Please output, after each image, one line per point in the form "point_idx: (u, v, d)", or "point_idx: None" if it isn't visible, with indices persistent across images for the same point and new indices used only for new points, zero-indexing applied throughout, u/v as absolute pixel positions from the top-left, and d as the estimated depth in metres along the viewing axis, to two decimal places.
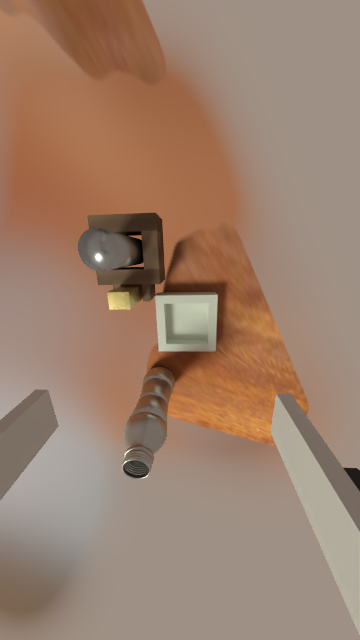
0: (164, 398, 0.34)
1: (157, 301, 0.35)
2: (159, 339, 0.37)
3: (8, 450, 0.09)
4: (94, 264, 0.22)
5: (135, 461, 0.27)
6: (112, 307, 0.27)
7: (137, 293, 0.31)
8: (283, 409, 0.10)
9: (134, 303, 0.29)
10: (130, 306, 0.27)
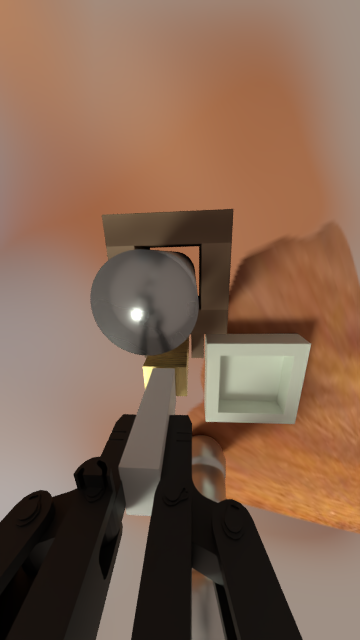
0: None
1: (210, 352, 0.22)
2: (208, 406, 0.24)
3: None
4: (131, 340, 0.08)
5: None
6: None
7: None
8: (161, 378, 0.12)
9: (187, 375, 0.16)
10: (186, 390, 0.14)
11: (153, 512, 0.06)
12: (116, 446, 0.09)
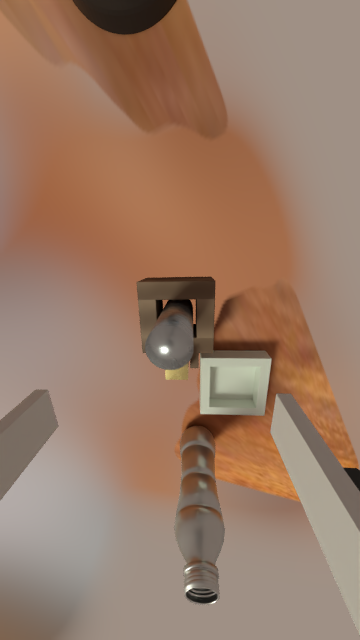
0: (212, 475, 0.30)
1: (203, 364, 0.32)
2: (202, 402, 0.34)
3: (8, 450, 0.09)
4: (162, 362, 0.18)
5: None
6: (169, 377, 0.26)
7: None
8: (283, 409, 0.10)
9: None
10: (187, 376, 0.26)
11: None
12: None
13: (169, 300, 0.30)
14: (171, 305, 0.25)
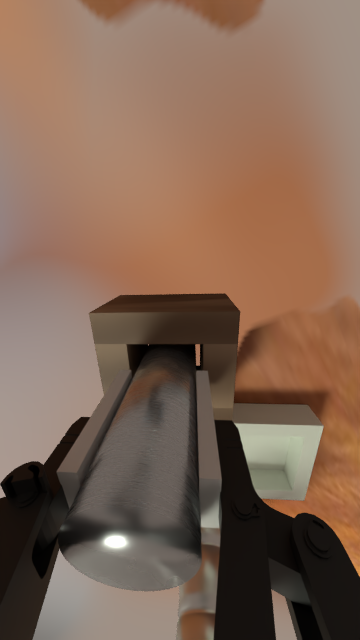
0: None
1: None
2: None
3: None
4: (114, 577, 0.06)
5: None
6: None
7: None
8: (196, 381, 0.12)
9: None
10: None
11: (223, 521, 0.06)
12: (65, 450, 0.09)
13: None
14: (155, 358, 0.13)
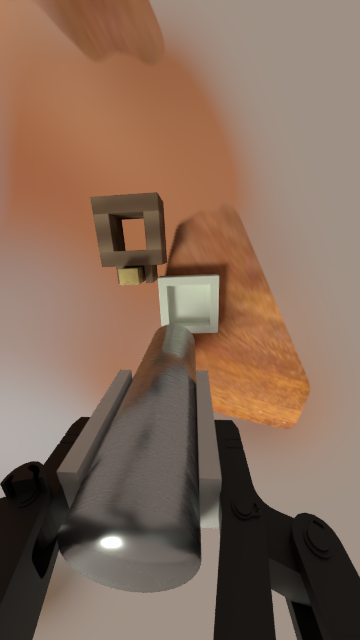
0: None
1: (160, 283, 0.36)
2: (162, 322, 0.38)
3: None
4: (113, 578, 0.06)
5: None
6: (122, 283, 0.30)
7: (144, 272, 0.34)
8: (196, 381, 0.12)
9: (142, 280, 0.32)
10: (139, 282, 0.31)
11: (223, 521, 0.06)
12: (65, 450, 0.09)
13: (156, 335, 0.18)
14: (155, 359, 0.13)
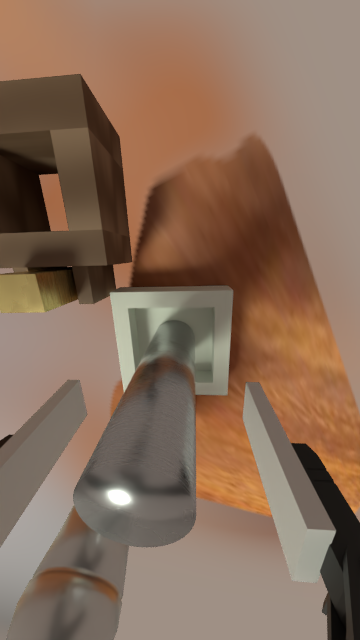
0: None
1: (115, 303, 0.18)
2: (123, 373, 0.20)
3: (51, 433, 0.10)
4: (120, 534, 0.07)
5: None
6: (6, 308, 0.13)
7: None
8: (250, 395, 0.11)
9: (64, 300, 0.14)
10: (45, 306, 0.13)
11: (352, 581, 0.05)
12: None
13: (158, 331, 0.19)
14: (157, 351, 0.14)
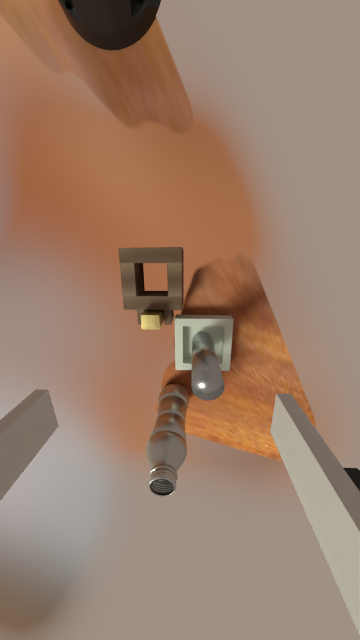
0: (182, 416, 0.36)
1: (176, 323, 0.37)
2: (176, 358, 0.40)
3: (8, 450, 0.09)
4: (202, 395, 0.27)
5: (159, 479, 0.28)
6: (144, 327, 0.32)
7: (163, 314, 0.36)
8: (283, 409, 0.10)
9: (161, 323, 0.34)
10: (159, 327, 0.32)
11: None
12: None
13: (196, 337, 0.38)
14: (201, 346, 0.33)
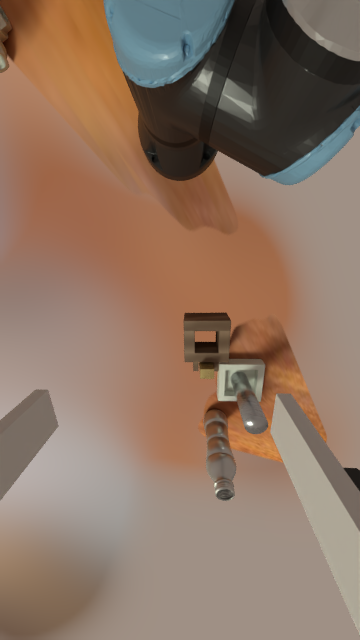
0: (227, 438, 0.48)
1: (220, 368, 0.49)
2: (219, 393, 0.51)
3: (8, 450, 0.09)
4: (252, 431, 0.38)
5: None
6: (202, 377, 0.43)
7: None
8: (283, 409, 0.10)
9: None
10: (213, 376, 0.43)
11: None
12: None
13: (235, 377, 0.50)
14: (244, 389, 0.45)
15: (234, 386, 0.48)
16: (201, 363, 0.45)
